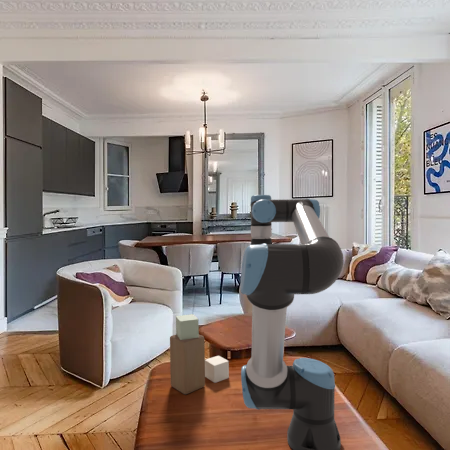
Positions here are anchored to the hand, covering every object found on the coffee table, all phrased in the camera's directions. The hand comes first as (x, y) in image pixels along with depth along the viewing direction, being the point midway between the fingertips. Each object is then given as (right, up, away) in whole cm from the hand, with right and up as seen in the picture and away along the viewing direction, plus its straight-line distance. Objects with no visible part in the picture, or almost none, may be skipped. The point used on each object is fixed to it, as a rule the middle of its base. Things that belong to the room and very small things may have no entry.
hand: (261, 295), depth 131 cm
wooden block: (-28, -37, +7) cm, 47 cm away
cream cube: (-17, -36, +15) cm, 43 cm away
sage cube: (-28, -17, +6) cm, 33 cm away
